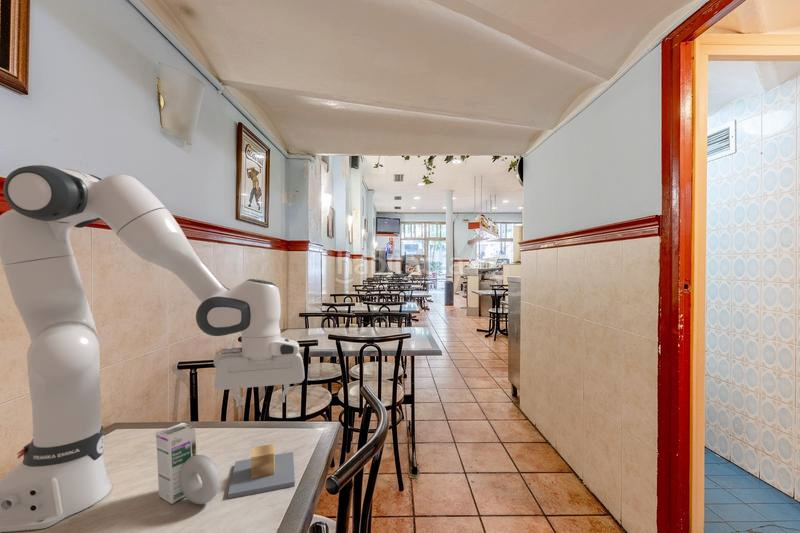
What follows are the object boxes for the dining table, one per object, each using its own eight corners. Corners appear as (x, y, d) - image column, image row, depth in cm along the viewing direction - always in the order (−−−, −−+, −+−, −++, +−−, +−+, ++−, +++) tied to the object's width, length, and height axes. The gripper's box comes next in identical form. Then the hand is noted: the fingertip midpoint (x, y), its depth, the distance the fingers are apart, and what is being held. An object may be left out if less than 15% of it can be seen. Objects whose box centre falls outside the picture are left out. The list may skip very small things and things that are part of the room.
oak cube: (251, 478, 86) (251, 457, 86) (253, 467, 90) (252, 447, 90) (274, 474, 87) (273, 453, 87) (274, 463, 92) (274, 443, 92)
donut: (224, 502, 79) (223, 456, 78) (210, 513, 75) (210, 465, 75) (190, 492, 82) (189, 447, 82) (175, 501, 79) (175, 455, 79)
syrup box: (171, 505, 78) (169, 436, 78) (157, 496, 81) (155, 430, 81) (198, 490, 83) (196, 426, 83) (184, 483, 86) (182, 421, 86)
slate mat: (228, 498, 80) (227, 494, 80) (235, 465, 93) (235, 461, 93) (294, 486, 84) (294, 481, 84) (293, 455, 98) (293, 451, 98)
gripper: (211, 352, 82) (210, 413, 82) (305, 346, 89) (304, 403, 89) (216, 346, 88) (215, 403, 88) (303, 341, 95) (303, 395, 95)
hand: (261, 403), depth 88 cm, fingers open, 8 cm apart
